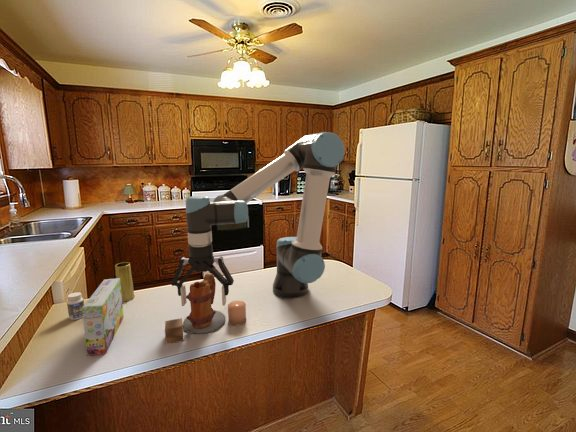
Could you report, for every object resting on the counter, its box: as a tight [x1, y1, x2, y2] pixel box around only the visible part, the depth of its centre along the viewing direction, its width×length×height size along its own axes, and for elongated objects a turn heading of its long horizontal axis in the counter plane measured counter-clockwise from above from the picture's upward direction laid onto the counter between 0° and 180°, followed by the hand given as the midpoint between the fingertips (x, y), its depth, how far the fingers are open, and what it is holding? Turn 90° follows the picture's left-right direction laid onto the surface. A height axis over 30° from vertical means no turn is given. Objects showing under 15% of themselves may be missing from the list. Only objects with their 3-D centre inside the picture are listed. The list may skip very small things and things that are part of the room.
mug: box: [186, 273, 217, 328], centre depth 101 cm, size 15×8×15 cm, turn 169°
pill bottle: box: [66, 291, 85, 321], centre depth 106 cm, size 5×5×8 cm
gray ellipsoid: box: [182, 309, 226, 335], centre depth 103 cm, size 14×14×1 cm
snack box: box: [82, 277, 125, 357], centre depth 95 cm, size 21×6×15 cm, turn 17°
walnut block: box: [164, 317, 184, 345], centre depth 94 cm, size 5×5×5 cm
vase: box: [114, 261, 135, 303], centre depth 119 cm, size 6×6×14 cm
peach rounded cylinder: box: [227, 300, 247, 326], centre depth 104 cm, size 6×6×6 cm
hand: (204, 304), depth 102 cm, fingers open, 13 cm apart
